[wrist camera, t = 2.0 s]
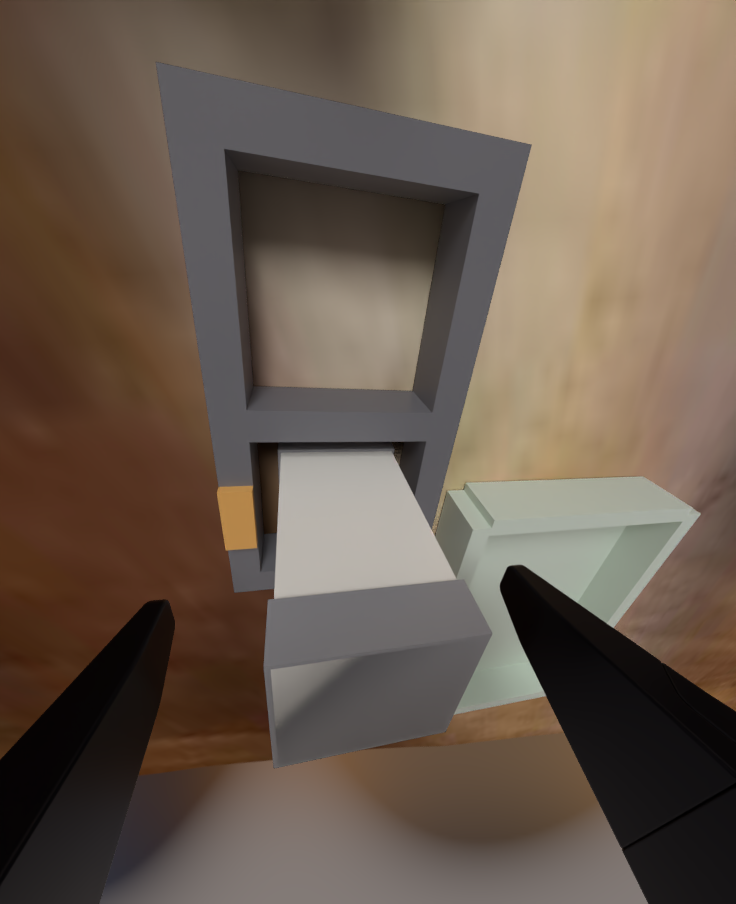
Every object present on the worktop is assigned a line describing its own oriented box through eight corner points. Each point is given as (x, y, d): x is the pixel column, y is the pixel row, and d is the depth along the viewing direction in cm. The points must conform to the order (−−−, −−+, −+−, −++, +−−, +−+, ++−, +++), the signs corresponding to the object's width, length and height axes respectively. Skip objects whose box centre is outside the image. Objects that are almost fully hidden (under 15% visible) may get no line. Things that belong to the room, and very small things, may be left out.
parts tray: (655, 476, 17) (706, 506, 15) (541, 655, 25) (563, 692, 23) (449, 483, 15) (475, 521, 13) (395, 680, 23) (406, 724, 21)
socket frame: (486, 165, 9) (540, 140, 7) (406, 540, 16) (422, 580, 14) (186, 104, 7) (148, 52, 5) (241, 552, 14) (233, 599, 12)
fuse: (386, 433, 13) (493, 633, 6) (374, 513, 15) (445, 731, 8) (278, 433, 12) (264, 666, 5) (281, 518, 14) (273, 769, 7)
